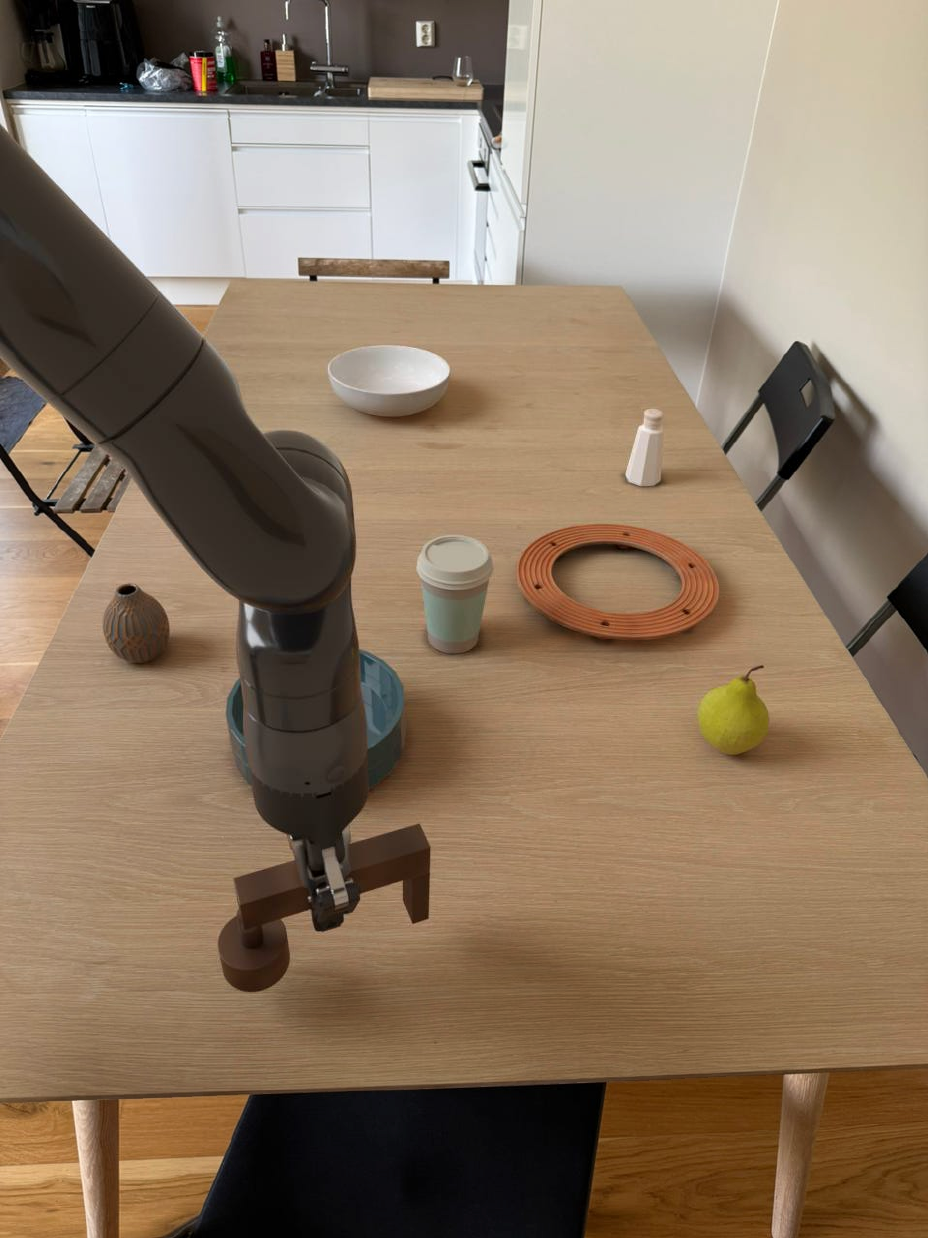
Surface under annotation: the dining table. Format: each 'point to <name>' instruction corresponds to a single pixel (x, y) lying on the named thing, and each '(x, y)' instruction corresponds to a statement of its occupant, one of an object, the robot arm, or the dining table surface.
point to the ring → (561, 609)
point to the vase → (135, 625)
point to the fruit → (734, 716)
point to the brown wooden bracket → (271, 894)
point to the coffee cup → (454, 590)
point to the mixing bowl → (381, 717)
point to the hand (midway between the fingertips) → (323, 907)
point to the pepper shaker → (647, 451)
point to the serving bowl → (389, 379)
